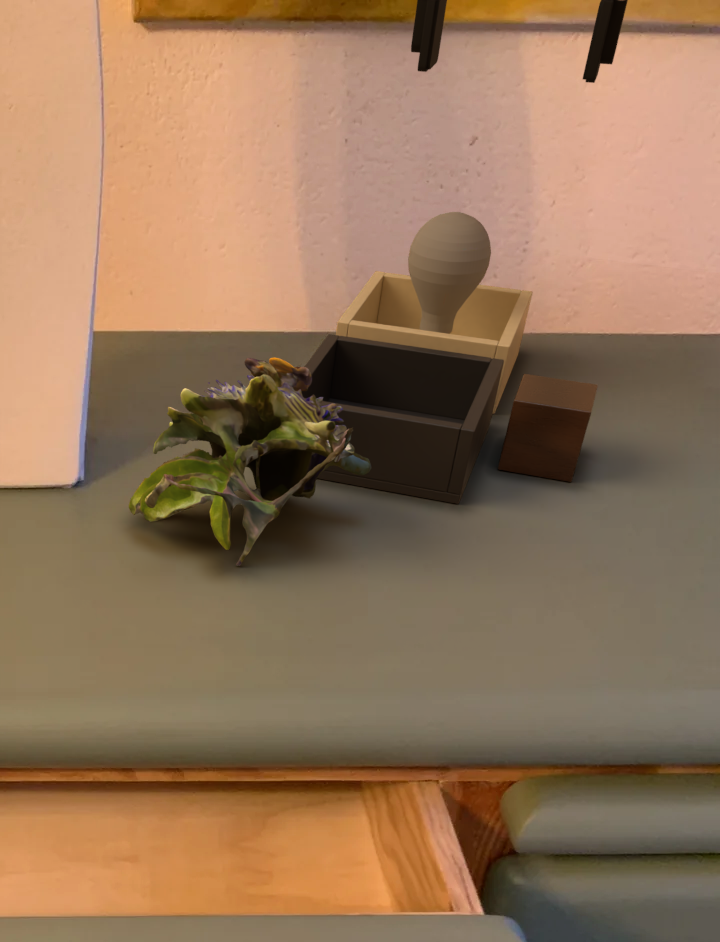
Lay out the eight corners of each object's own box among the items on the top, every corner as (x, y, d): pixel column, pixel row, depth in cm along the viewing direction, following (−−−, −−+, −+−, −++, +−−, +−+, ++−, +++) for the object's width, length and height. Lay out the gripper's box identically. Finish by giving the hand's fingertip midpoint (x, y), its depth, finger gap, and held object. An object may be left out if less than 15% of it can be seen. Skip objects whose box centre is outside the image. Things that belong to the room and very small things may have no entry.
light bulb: (385, 370, 83) (409, 220, 76) (399, 343, 86) (423, 198, 80) (462, 381, 81) (493, 229, 75) (473, 353, 85) (503, 206, 78)
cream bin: (518, 354, 87) (533, 291, 83) (494, 414, 79) (510, 346, 75) (366, 332, 90) (375, 270, 87) (328, 387, 82) (337, 321, 79)
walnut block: (578, 452, 74) (598, 384, 71) (571, 482, 71) (591, 412, 68) (507, 441, 75) (524, 373, 72) (497, 469, 72) (513, 400, 69)
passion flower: (258, 581, 73) (392, 429, 67) (250, 650, 63) (405, 481, 57) (116, 468, 70) (243, 300, 64) (86, 523, 61) (231, 332, 55)
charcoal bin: (489, 428, 77) (504, 359, 74) (458, 504, 69) (474, 431, 66) (320, 400, 80) (328, 333, 77) (272, 470, 72) (279, 399, 69)
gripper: (765, -324, 58) (661, 70, 70) (423, -315, 63) (378, 53, 74) (769, -332, 53) (655, 96, 65) (396, -321, 58) (352, 75, 69)
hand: (507, 72), depth 70 cm, fingers open, 9 cm apart
